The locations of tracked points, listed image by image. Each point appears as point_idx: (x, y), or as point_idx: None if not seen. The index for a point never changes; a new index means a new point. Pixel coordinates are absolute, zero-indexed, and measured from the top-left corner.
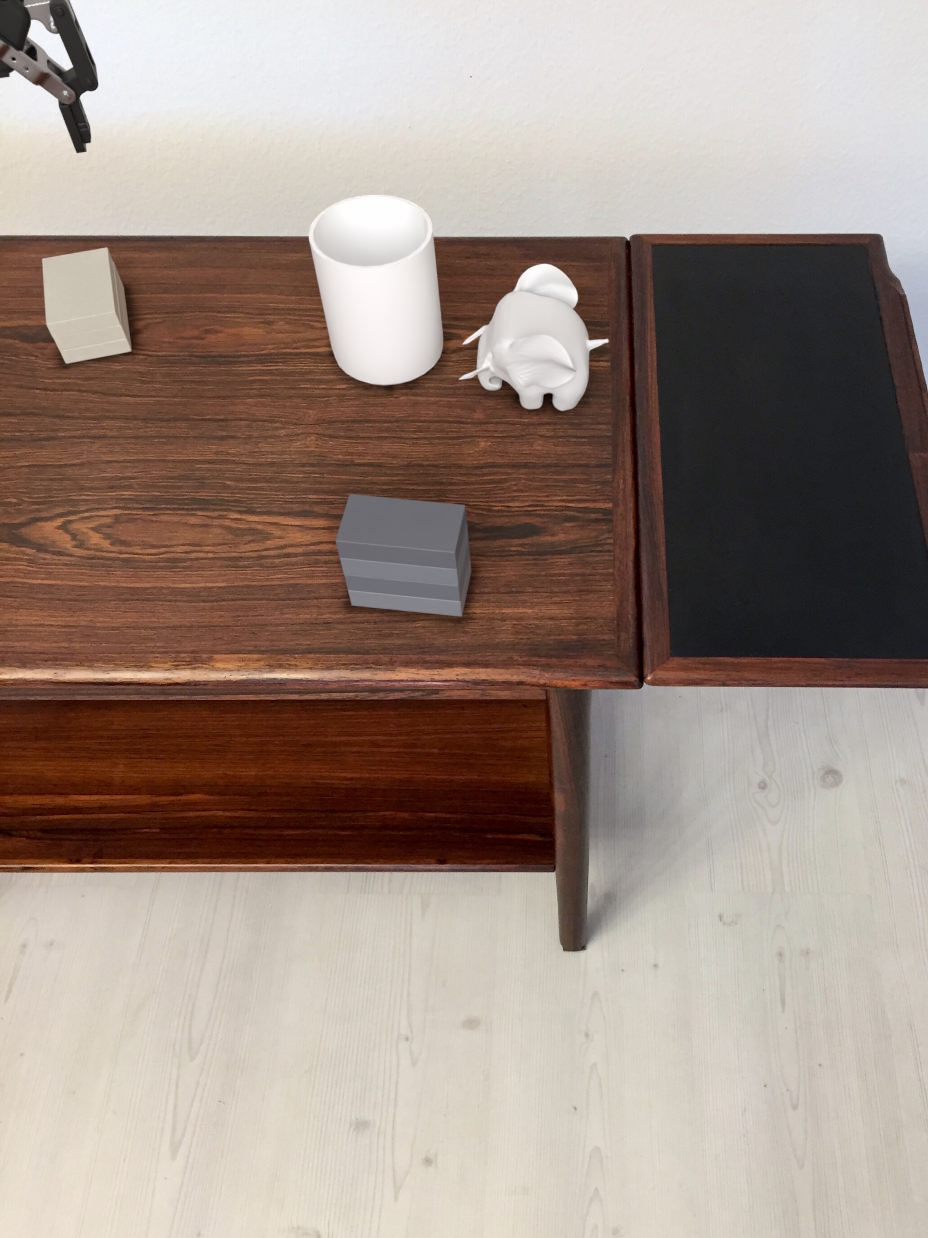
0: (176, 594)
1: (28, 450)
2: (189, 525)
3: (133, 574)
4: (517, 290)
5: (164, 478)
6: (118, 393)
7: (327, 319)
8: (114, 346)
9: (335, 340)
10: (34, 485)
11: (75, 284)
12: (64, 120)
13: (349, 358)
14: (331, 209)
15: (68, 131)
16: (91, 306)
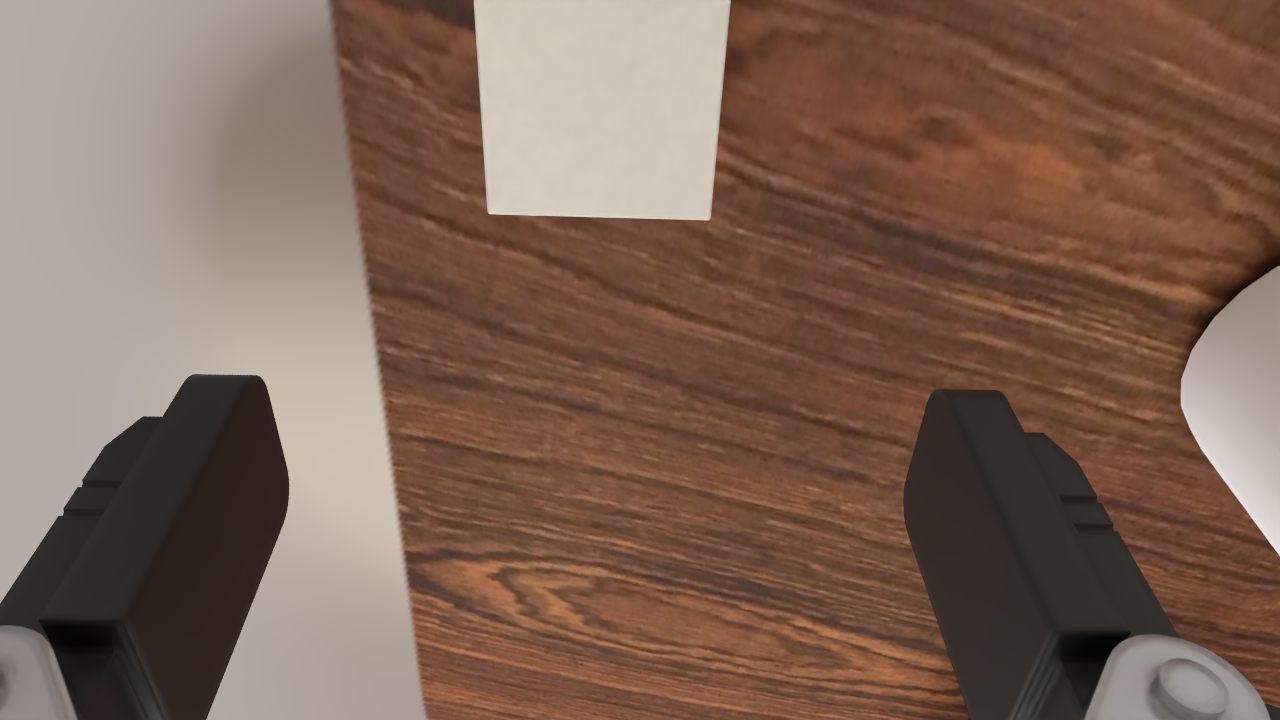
0: (674, 708)
1: (420, 401)
2: (721, 621)
3: (614, 671)
4: None
5: (700, 531)
6: (640, 292)
7: (1254, 471)
8: None
9: (1225, 455)
10: (440, 486)
11: (593, 31)
12: (959, 679)
13: (1215, 466)
14: None
15: (938, 624)
16: (638, 174)
